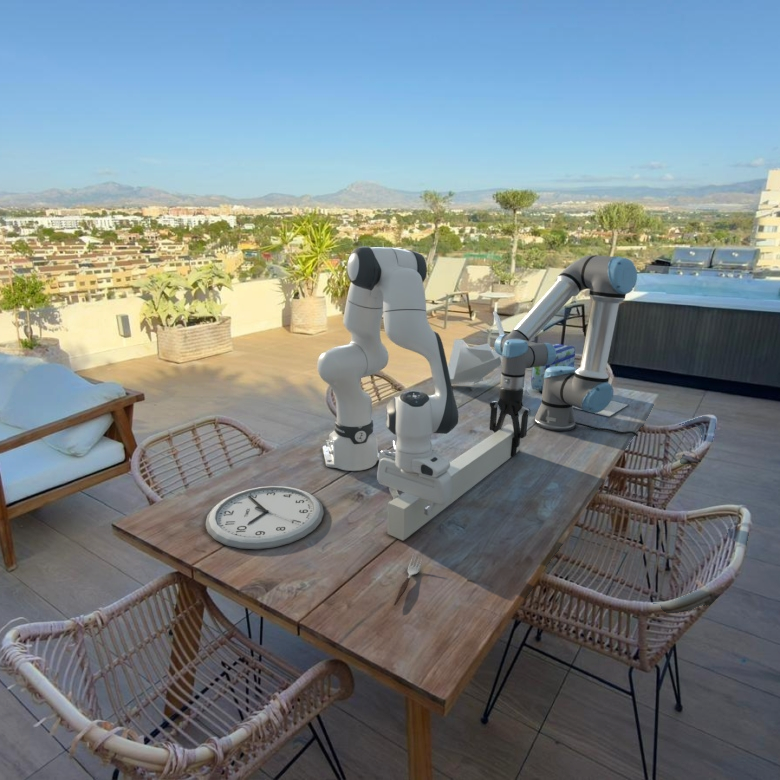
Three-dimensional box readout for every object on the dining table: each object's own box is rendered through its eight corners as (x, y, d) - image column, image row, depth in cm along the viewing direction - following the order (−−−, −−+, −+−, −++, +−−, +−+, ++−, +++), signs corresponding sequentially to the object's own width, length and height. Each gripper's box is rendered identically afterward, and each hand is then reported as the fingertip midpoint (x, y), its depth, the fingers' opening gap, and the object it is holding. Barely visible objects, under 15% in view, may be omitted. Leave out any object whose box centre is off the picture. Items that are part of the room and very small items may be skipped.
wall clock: (321, 540, 123) (190, 545, 121) (321, 546, 124) (191, 551, 121) (325, 481, 152) (219, 484, 149) (325, 486, 152) (220, 489, 150)
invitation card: (608, 416, 214) (573, 407, 224) (608, 416, 214) (573, 408, 224) (628, 404, 229) (594, 396, 238) (628, 405, 229) (594, 397, 238)
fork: (388, 605, 105) (388, 597, 104) (412, 560, 119) (412, 553, 119) (400, 609, 104) (400, 600, 104) (423, 563, 119) (423, 555, 118)
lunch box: (547, 396, 238) (552, 351, 232) (526, 391, 246) (531, 347, 239) (574, 385, 256) (579, 343, 250) (554, 380, 263) (559, 340, 257)
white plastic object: (461, 429, 252) (437, 405, 227) (444, 352, 274) (420, 323, 250) (535, 404, 240) (518, 377, 215) (510, 326, 262) (492, 293, 237)
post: (506, 447, 183) (508, 423, 180) (519, 450, 180) (521, 426, 178) (387, 534, 130) (388, 502, 127) (403, 540, 127) (404, 509, 125)
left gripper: (371, 451, 131) (372, 501, 135) (442, 473, 119) (440, 526, 123) (386, 444, 135) (386, 492, 139) (456, 463, 124) (453, 515, 128)
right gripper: (481, 384, 172) (476, 449, 179) (533, 395, 162) (526, 464, 169) (491, 379, 178) (486, 442, 185) (542, 390, 168) (535, 456, 175)
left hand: (412, 508), depth 131 cm, fingers open, 8 cm apart
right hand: (505, 452), depth 177 cm, fingers closed on post, 5 cm apart
